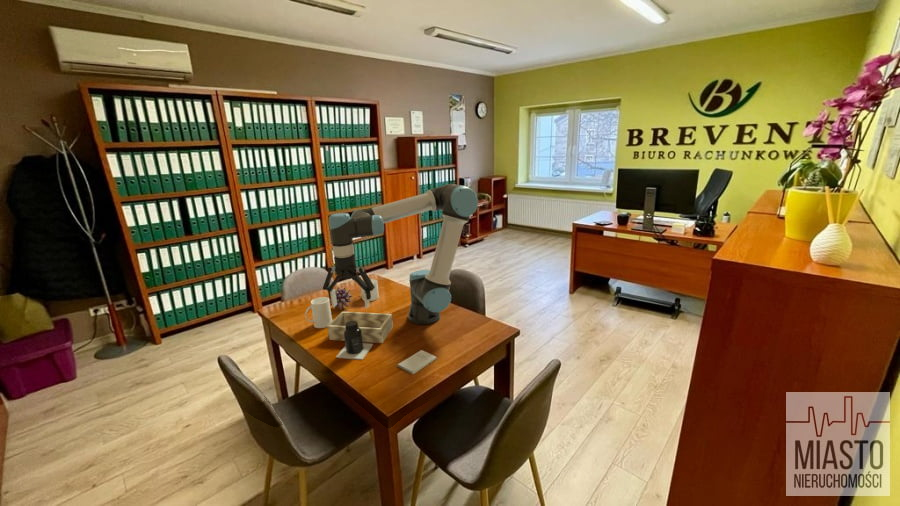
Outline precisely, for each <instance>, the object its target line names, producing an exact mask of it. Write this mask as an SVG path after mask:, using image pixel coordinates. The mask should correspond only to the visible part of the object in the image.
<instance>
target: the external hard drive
mask: <svg viewBox="0 0 900 506" xmlns="http://www.w3.org/2000/svg"><path fill="white" fill-rule="evenodd" d="M436 359H437V356H435V355H434V354H432V353H429V352H427V351H424V350H422V349H421V350H419V351H417V352H416V353H414V354H412V355H411V356H409V357H408V358H406V359H404V360H403V361H401V362H399V363H398V364H397V367H398V368H400V369H402V370H404V371H405V372H407V373H409V374H411V375H414V374H416V373H417V372H419V371H421V370H423V368H425V367H427V366H428V365H429V363H430V364H432V362H434V361H436Z"/></svg>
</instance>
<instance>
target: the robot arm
mask: <svg viewBox="0 0 900 506" xmlns="http://www.w3.org/2000/svg"><path fill="white" fill-rule="evenodd" d="M478 206H479V199H478V195H477V193H476V192H475V190H474V189H472V188H470V187H468V186H466V185H461V184H456V183H447V184H444V185H440V186H437V187H434V188H431V189H428V190H427V191H426V192H425V193H421V194H418V195H414V196H410V197H406V198H402V199H399V200H396V201H393V202H389V203H385V204H381V205H377V206H374V207H370V208H367V209H356V210H354V211H353V212H352V214H351V216H350V214H349V213H348V212H340V213H339V212H338V213H334V214H330V215H329V217H328V225H329V226H328V227H329V231H330V234H329V235H330V239H331V246H332V252H333V260H334V266H333V265H330V266H329V267H328V268H327V273H326V274H327V275H326V278H325V280H324V283H323V286H322V290H324V291H327V293H328V298H330V299H331V300H330V301H332V305H331V307H332V308H334V307H335V306H336V305H337V299H336V292H335V290H336V289H335V286H336V285H337V283H338V282H339V281H340V280H341V279H342V280H343V279H346V280H347V279H348V280H350V279H351V280H353V281H354V282H355V283H356V284H357V285H358V286H359V287H361V288H362V289H363V290H364V291H365V292H364V300H363V301H364V308H365V309H369V307H370V305H371V304H370V301H369V299H370V298H371V294H370V291H372V290H373V289H374V288H375V287H374V285H373V283H372V282H371V280H370V279H371V278H370V277H369V275H368V274H367V272H366V269H365V266H364V265H362V266H359V267H357V265H356V256H355V249H354V241H353V239H357V238H358V239H359V238H363V237H374V236H378V235H382V234H384V232H385V224H387V223H390V222H393V221H398V220H400V219H405V218H407V217H410V216H414V215H418V214H421V213H425V212H428V211H432V212H436V211H441V216H442V218H443V222H442V225H441V227H440V228H441V229H440V232H439V236H438V240H437V242H436V247H435V251H434V255H433V258H432V262H431V266H430V268H429V269H430V270H429V269H423V270H422V269H420V270H415V271H413V272H410V274H409V292H410V293H409V294H410V306H409V311H408V315H407V316H408V321H409V322H410V323H413V324H416V325H430V324H433V323H436V322H437V321H439V320H440V318H441V312H443V311H444V310H446V309H447V308H448V307H449V306H450V304H451V302H452V294H451V292H450V288H451V285H452V282H451V280H450V275H451V271H452V268H453V264H454V260H455V256H456V254H457V249H458V246H459V243H460V239H461V235H462V232H463V228H464V225H465V224H467V223H468V222H469V220H470V217H471V216H472V215H473V214H474V213H476V211H477V210H478ZM334 273H336V274H337V275H336V276H335V277H334V279H333V280H332V278H333V275H334ZM331 280H332V282H331ZM363 280H364V281H363ZM333 288H334V289H333ZM361 288H360V289H361ZM438 319H439V320H438Z"/></svg>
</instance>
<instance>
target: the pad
mask: <svg viewBox="0 0 900 506" xmlns="http://www.w3.org/2000/svg"><path fill="white" fill-rule="evenodd" d="M373 346H374V344H373V343H370V342H363V350H362V351H361V352H359V353H357V354H349V353H347V351H346V346H345V345H344V347H343V348H342V349H341V350H340V351H339V353H338V354H337V355H336V356H335V357H336V358H338V359H346V360H347V359H349V360H360V361H362V360H364V358H365V357H366V355H367V354H368V353H369V351H370V350H371V348H372V347H373Z"/></svg>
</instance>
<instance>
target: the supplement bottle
mask: <svg viewBox="0 0 900 506" xmlns="http://www.w3.org/2000/svg"><path fill="white" fill-rule="evenodd" d="M359 327H360V326H358V323H357V321H349V322H347V323H346V324H345V328H346V330H345V331H344V339H345V341H344V344H345V345H344V347H345V346H346V351H347V353H349V354H357V353H359V352H361V351H362V350H363V343H364V342H363V340H362V332H361V329H360V328H359Z"/></svg>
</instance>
